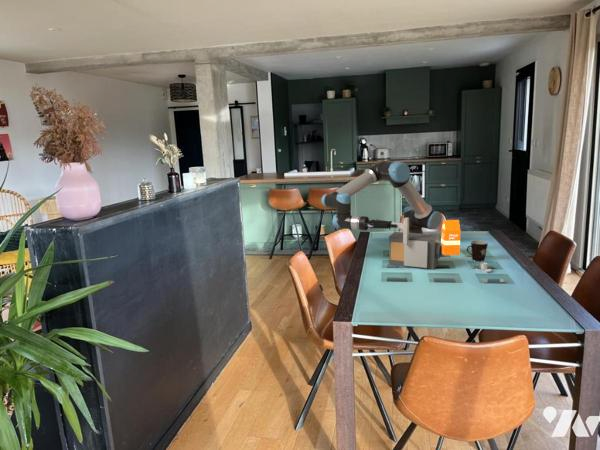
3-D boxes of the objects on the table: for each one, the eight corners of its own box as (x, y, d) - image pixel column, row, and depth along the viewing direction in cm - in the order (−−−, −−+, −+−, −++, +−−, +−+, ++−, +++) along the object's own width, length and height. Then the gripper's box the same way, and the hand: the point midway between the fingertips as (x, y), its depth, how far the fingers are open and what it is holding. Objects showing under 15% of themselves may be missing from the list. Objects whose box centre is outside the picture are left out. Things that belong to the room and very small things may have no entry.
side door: (404, 264, 244) (405, 217, 238) (427, 267, 238) (428, 218, 233) (402, 267, 240) (403, 218, 235) (425, 269, 235) (427, 220, 229)
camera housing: (394, 259, 258) (394, 229, 255) (442, 263, 247) (443, 233, 243) (388, 264, 248) (389, 234, 244) (438, 270, 236) (439, 238, 233)
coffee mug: (484, 257, 256) (485, 240, 254) (488, 262, 248) (489, 244, 245) (462, 257, 257) (463, 240, 255) (466, 262, 249) (467, 244, 247)
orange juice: (459, 254, 263) (461, 221, 259) (444, 255, 263) (445, 221, 259) (455, 251, 270) (456, 218, 266) (440, 251, 271) (441, 218, 267)
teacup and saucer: (494, 274, 229) (494, 266, 228) (477, 273, 231) (477, 265, 230) (490, 268, 237) (491, 261, 237) (474, 268, 239) (474, 260, 238)
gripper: (364, 227, 254) (406, 230, 243) (356, 232, 242) (400, 235, 232) (364, 214, 252) (406, 216, 242) (356, 218, 241) (400, 221, 230)
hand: (403, 225), depth 237 cm, fingers closed
